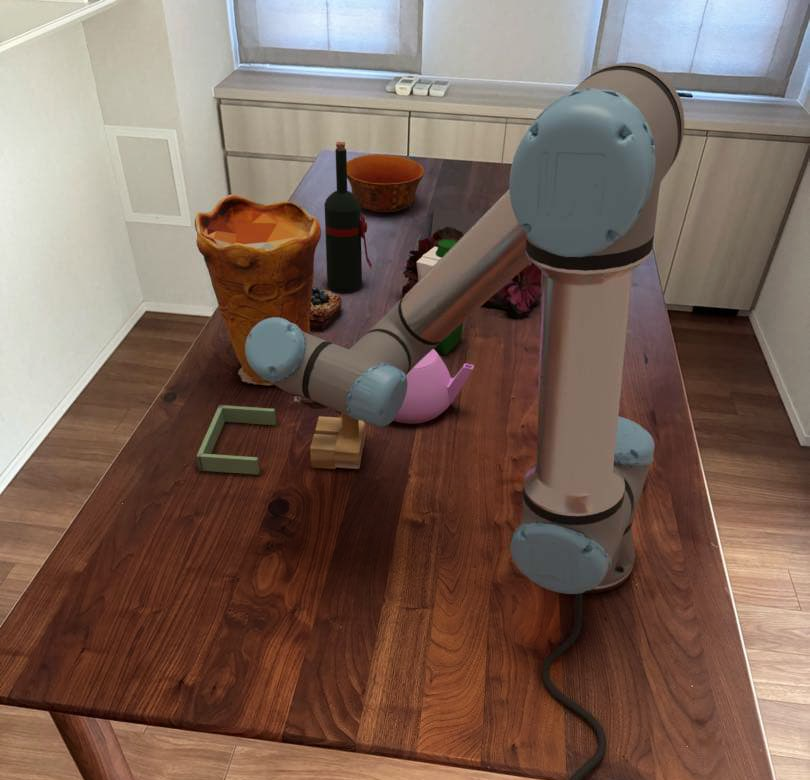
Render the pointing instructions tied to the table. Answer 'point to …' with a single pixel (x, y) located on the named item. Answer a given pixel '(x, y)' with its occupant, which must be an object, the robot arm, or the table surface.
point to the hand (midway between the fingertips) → (359, 412)
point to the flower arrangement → (510, 297)
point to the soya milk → (422, 268)
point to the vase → (258, 266)
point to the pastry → (323, 309)
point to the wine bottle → (344, 233)
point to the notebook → (454, 219)
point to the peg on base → (350, 443)
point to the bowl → (384, 181)
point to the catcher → (222, 415)
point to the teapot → (430, 389)
